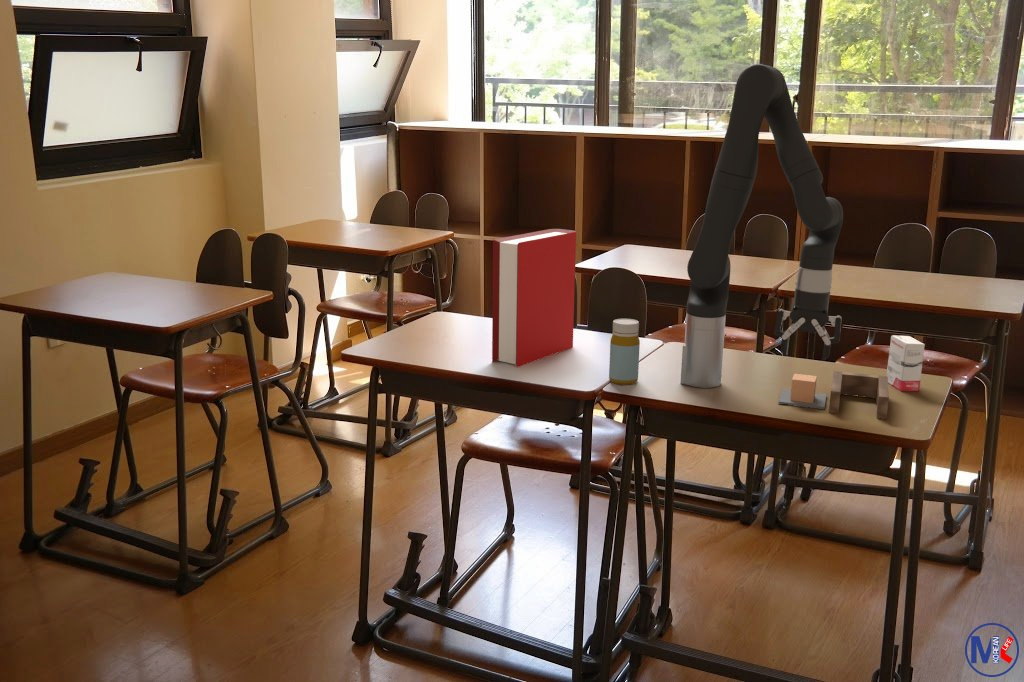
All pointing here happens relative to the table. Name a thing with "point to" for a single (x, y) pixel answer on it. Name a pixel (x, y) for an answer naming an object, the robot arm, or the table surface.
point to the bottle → (624, 352)
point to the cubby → (860, 390)
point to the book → (533, 295)
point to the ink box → (905, 363)
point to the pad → (817, 403)
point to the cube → (803, 388)
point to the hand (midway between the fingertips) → (804, 357)
